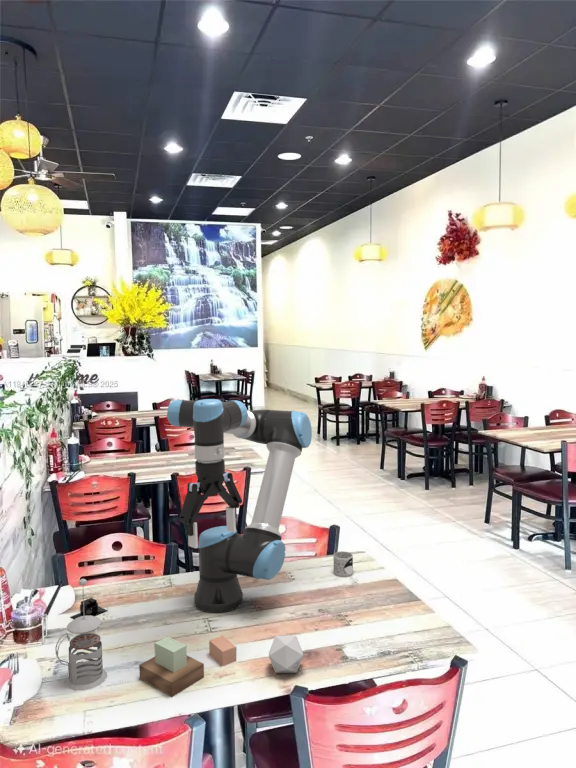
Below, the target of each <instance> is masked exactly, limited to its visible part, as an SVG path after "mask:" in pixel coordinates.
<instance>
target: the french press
mask: <svg viewBox="0 0 576 768" xmlns="http://www.w3.org/2000/svg"><path fill="white" fill-rule="evenodd" d="M78 585H79V586H82V587H84V586H86V585H88V581H87V579H85V578H80V580H78ZM84 594H85V593H84V590H82V601H83V612H84V599H85V595H84ZM102 620H103V619H101V618H99V617H97V616H81V617H78V618H76V619H72V620H71V621H70V622H69V623H68V624H66V630H67V631H68V632H69V633H72V634H75V636H74V637H72V638H71V637H70V636H69V633H67V632H65V633H64V634H62V635H61V636H60V637H59V638H58V640H57V642H56V644H55V649H54V650H55V651H54V652H55V655H56V658H57V660H58V662H59V664H61V665H63V666H67V670H68V676H67V678H66V679H65V686H66V687H67V688H68V689H70V690H73V691H86V690H91V689H92V690H93V689H94V688H96V687H98V686H101V685H102V684H103V683H104V682H105V681H106V679H107V678H108V672H107V671H106V670H105V669H104V666H103V663H104V662H103V660H104V659H103V644H102V643H103V642H102V640H101V635H99V634H98V633H93V632H94V631H96V630H98V629H99V628H100V627H101V626H102V624H103V622H102ZM76 634H77V635H76ZM65 635H66V636H65ZM64 636H65V637H64ZM63 637H64V638H63ZM62 638H63V639H62ZM70 638H71V639H70ZM61 639H62V640H61ZM66 639H67V640H68V641H69V647H68V661H65V660H62V659H60V657H59V650H60V646H61V644H62V643H63V642H64V641H65V640H66ZM60 640H61V641H60ZM59 642H60V643H59ZM92 647H93V648H97V649H92ZM80 650H82V651H80ZM85 651H88V652H85ZM89 652H90V653H89ZM82 660H85V661H82ZM65 663H66V664H65Z"/></svg>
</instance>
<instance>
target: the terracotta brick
mask: <svg viewBox="0 0 576 768" xmlns="http://www.w3.org/2000/svg"><path fill="white" fill-rule="evenodd" d="M208 641H209V642H208V646H209V647H208V650H209V651H208V652H209V655H210V657H212V658H213V659H214V660H215V661H216V662H218V663H219V665H221V666H222V667H224V666H225V667H226V666H228V665H230V664H232V663H235V662H237V646H236V645H235V644H234V643H233V642H231V641H230V640H228V638H227V637H225V636H224V635H219V636H217V637H215V638H212V639H209V640H208Z"/></svg>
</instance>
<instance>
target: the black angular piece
mask: <svg viewBox="0 0 576 768" xmlns="http://www.w3.org/2000/svg"><path fill="white" fill-rule="evenodd" d="M97 601H98V600H97V599H95V598H93V597H89V598H86V599H85V600H84V612H83V600H82V601H80V605H79V609H80V610H79V611H80V612H79V613H76V614H74V615H71V616H70V617H69V618H70V619H71V620H74V619H76V618H78V617H81V616H95V617H97V616H100V615H102V614H104V613H107V612H108V609H105V608H104V607H102V606H99V604H98V602H97Z"/></svg>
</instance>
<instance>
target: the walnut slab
mask: <svg viewBox="0 0 576 768" xmlns="http://www.w3.org/2000/svg"><path fill="white" fill-rule="evenodd" d="M204 678H205V664H204V663H203V662H202V661H200V660H198V659H195V658H193V657H191V656H190V655H187V665H186V666H185V667H183V668H181V669H180V670H178V671H176V672H172V671H170V670H168V669H166V668H164V667H163V666H161V665H159V664H157V663H155V656H153V657H151V658H150V659H148V660H146V661H144V662H142V663H140V664H139V680H142V681H143V682H144V683H145V682H146V684H148V685H150V686H152V687H153V688H156V689H158V690H159V691H161V692H163V693H164V694H166V695H168V696H170V697H171V698H173V697H175V696H176V695H178V694H180V693H181V692H183V691H184V690H186V689H188V688H189V687H191V686H192V685H194V684H196V683H197V682H199V681H201V680H203V679H204Z"/></svg>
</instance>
